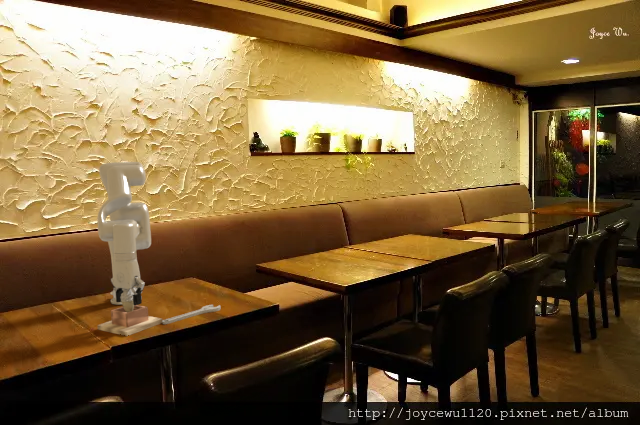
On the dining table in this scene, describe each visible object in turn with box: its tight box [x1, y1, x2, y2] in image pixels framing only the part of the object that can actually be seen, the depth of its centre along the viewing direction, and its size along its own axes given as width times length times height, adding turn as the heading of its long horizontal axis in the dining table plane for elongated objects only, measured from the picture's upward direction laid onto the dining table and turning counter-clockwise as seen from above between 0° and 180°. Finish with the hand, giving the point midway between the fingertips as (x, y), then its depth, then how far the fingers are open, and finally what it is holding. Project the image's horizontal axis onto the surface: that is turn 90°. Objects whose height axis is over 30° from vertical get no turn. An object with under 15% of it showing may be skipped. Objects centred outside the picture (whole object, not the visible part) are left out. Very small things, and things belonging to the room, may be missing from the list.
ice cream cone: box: [120, 289, 134, 313], centre depth 187 cm, size 5×5×15 cm
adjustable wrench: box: [161, 304, 221, 325], centre depth 199 cm, size 25×6×2 cm, turn 133°
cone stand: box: [97, 304, 164, 337], centre depth 187 cm, size 16×16×6 cm
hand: (129, 302), depth 187 cm, fingers open, 9 cm apart
